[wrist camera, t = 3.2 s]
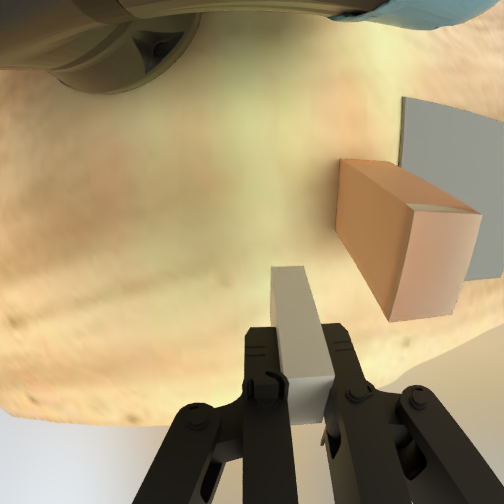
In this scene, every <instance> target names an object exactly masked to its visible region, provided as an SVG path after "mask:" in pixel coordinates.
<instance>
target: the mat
mask: <svg viewBox="0 0 504 504" xmlns="http://www.w3.org/2000/svg"><path fill="white" fill-rule="evenodd" d="M398 167H400V168H402V169H404V170H406V171H408V172H410V173H412V174H414V175H416V176H418V177H420V178H421V179H423V180H425V181H427V182H429V183H431V184H432V185H434V186H436V187H438V188H439V189H441V190H443V191H445V192H446V193H448V194H450V195H451V196H453V197H455V198H457V199H458V200H460V201H461V202H463V203H465V204H466V205H468V206H470V207H471V208H473V209H474V210H476V211H477V212H479V213H481V214H482V219H481V223H480V227H479V231H478V235H477V239H476V243H475V247H474V250H473V254H472V257H471V261H470V264H469V267H468V270H467V273H466V277H465V280H464V281H470V280H481V279H491V278H501V275H502V272H503V269H504V123H503V122H500V121H497V120H494V119H491V118H488V117H485V116H481V115H478V114H475V113H471V112H468V111H464V110H461V109H457V108H453V107H449V106H445V105H441V104H437V103H432V102H428V101H423V100H418V99H413V98H408V97H403V101H402V125H401V141H400V154H399V165H398Z"/></svg>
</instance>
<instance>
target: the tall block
mask: <svg viewBox="0 0 504 504" xmlns="http://www.w3.org/2000/svg"><path fill="white" fill-rule="evenodd" d="M481 219H482V214H481V213H479V212H477V211H476V210H474V209H473V208H471V207H470V206H468V205H466V204H465V203H463V202H461V201H460V200H458V199H457V198H455V197H453V196H451V195H450V194H448V193H446V192H445V191H443V190H441V189H439V188H438V187H436V186H434V185H432V184H431V183H429V182H427V181H425V180H423V179H421V178H420V177H418V176H416V175H414V174H412V173H410V172H408V171H406V170H404V169H402V168H400V167H398V166H396V165H394V164H392V163H390V162H383V161H370V160H354V159H340V174H339V189H338V202H337V214H336V224H335V231H336V232H337V234H338V236H339V237H340V239H341V240H342V242H343V244H344V245H345V247H346V249H347V250H348V252H349V254H350V255H351V257H352V259H353V260H354V262H355V264H356V265H357V267H358V269H359V270H360V272H361V274H362V276H363V277H364V279H365V281H366V282H367V284H368V286H369V288H370V290H371V291H372V293H373V295H374V297H375V298H376V300H377V302H378V304H379V306H380V307H381V309H382V311H383V313H384V315H385V317H386V318H387V320H388V322H398V321H407V320H415V319H423V318H431V317H438V316H445V315H452V313H453V310H454V308H455V305H456V302H457V300H458V297H459V294H460V291H461V288H462V286H463V283H464V280H465V277H466V273H467V270H468V267H469V264H470V261H471V257H472V254H473V250H474V247H475V243H476V239H477V235H478V231H479V227H480V223H481Z"/></svg>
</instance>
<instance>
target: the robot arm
mask: <svg viewBox="0 0 504 504" xmlns="http://www.w3.org/2000/svg"><path fill="white" fill-rule="evenodd" d="M499 1H500V0H0V70H46V71H47V72H49V73H50V74H51V75H53V76H54V77H56V78H57V79H58V80H59V81H60V82H61V83H63V84H64V85H66V86H68V87H70V88H72V89H74V90H77V91H81V92H85V93H94V94H110V93H119V92H124V91H128V90H131V89H134V88H137V87H139V86H142V85H144V84H146V83H148V82H149V81H151V80H153V79H155V78H156V77H158V76H159V75H160V74H162V73H163V72H164V71H166V70H167V69H168V68H169V67H170V66H171V65H172V64H174V63H175V62H176V60H177V59H178V58H179V57H180V56H181V55H182V54H183V52H184V51H185V50H186V48H187V47H188V45H189V44H190V42H191V40H192V39H193V37H194V35H195V33H196V30H197V28H198V25H199V22H200V18H201V12H210V11H277V12H292V13H303V14H312V15H320V16H325V17H327V18H329V19H331V20H333V21H338V22H360V21H369V22H375V23H381V24H386V25H391V26H396V27H400V28H405V29H411V30H434V29H437V28H439V27H442V26H453V25H457V24H461V23H464V22H466V21H468V20H470V19H472V18H474V17H477V16H479V15H480V14H482V13H484V12H485V11H487V10H488V9H490V8H491V7H493V6H494V5H495V4H496V3H497V2H499ZM270 319H271V327H250V329H249V330H248V332H247V334H246V335H245V357H244V380H243V384H242V390H243V392H242V394H241V396H240V397H239V398H238V399H237V400H236V401H234V402H232V403H230V404H228V405H225V406H221V407H217V408H213V407H212V406H210V405H208V404H205V403H192V404H188V405H186V406H184V407H183V408H181V409H180V410H179V412H178V413H177V414H176V416H175V418H174V420H173V422H172V424H171V426H170V428H169V430H168V432H167V434H166V436H165V438H164V440H163V442H162V445H161V447H160V448H159V450H158V452H157V454H156V456H155V458H154V461H153V462H152V465H151V466H150V469H149V470H148V473H147V474H146V477H145V479H144V481H143V482H142V485H141V487H140V488H139V490H138V493H137V494H136V497H135V498H134V501H133V502H132V504H211V503H212V500H213V498H214V495H215V492H216V489H217V487H218V484H219V481H220V478H221V475H222V472H223V469H224V466H225V464H226V462H228V461H232V460H235V459H239V458H243V504H298V495H297V485H296V474H295V464H294V456H293V446H292V436H291V427H290V425H303V424H314V423H322V420H323V417H324V419H325V423H326V427H325V430H324V433H323V436H322V439H321V446H323V445H324V443H325V445H326V451H327V457H328V463H329V469H330V475H331V481H332V487H333V493H334V500H335V504H412V502H413V504H504V486H503V485H502V484H501V482H500V481H499V479H498V478H497V476H496V475H495V474H494V472H493V471H492V469H491V468H490V467H489V465H488V464H487V463H486V461H485V460H484V458H483V457H482V456H481V454H480V453H479V452H478V450H477V449H476V447H475V446H474V445H473V443H472V442H471V441H470V439H469V438H468V437H467V436H466V434H465V433H464V432H463V430H462V429H461V428H460V426H459V425H458V424H457V423H456V421H455V420H454V419H453V417H452V416H451V415H450V413H449V412H448V411H447V410H446V409H445V407H444V406H443V405H442V403H441V402H440V401H439V400H438V398H437V397H436V396H435V394H434V393H433V392H432V391H431V390H429V389H428V388H426V387H424V386H420V385H413V386H409V387H407V388H406V389H405V390H403V392H402V394H396V393H388V392H382V391H379V390H377V389H375V387H374V386H373V385H372V384H371V383H370V382H368V381H366V379H365V377H364V374H363V372H362V369H361V366H360V363H359V360H358V358H357V355H356V352H355V350H354V347H353V344H352V342H351V339H350V336H349V333H348V331H347V330H346V329H345V328H344V327H343V326H342V325H341V324H340V323H331V324H321V323H320V319H319V316H318V313H317V309H316V306H315V302H314V299H313V296H312V292H311V289H310V286H309V283H308V279H307V276H306V273H305V270H304V266H288V267H271V294H270ZM411 501H412V502H411Z"/></svg>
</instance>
